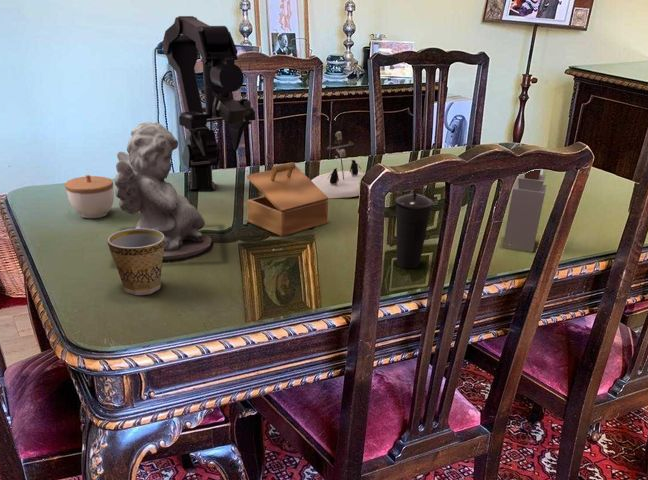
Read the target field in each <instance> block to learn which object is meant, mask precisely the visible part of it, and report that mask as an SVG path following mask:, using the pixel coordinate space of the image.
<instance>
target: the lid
mask: <svg viewBox="0 0 648 480" xmlns="http://www.w3.org/2000/svg"><path fill="white" fill-rule="evenodd" d="M246 178H247V180H248V181H249V182H250V183H252V185H253V186H254V187H255V188H256V189H257V190H258V191H259V192H260V193H261V194H262V196H265V197H266V198H267V199H268V200H269V201H270V202H271V203H272V204H273V205H274V206H275V207H276V208H277V209H278V210H279V211H280V212H281V213H283V212H287V211H290V210H294V209H298V208H302V207H305V206H309V205H313V204H316V203H320V202H324V201H328V202H329V199H330V198H328V197H327V196H326V195H325V194H324V193H323V192H322V191H321V190H320V189H319V188H318V187H317V186H316V185H315V184H314V183H313V182H312V181H311V180H312V179H310V178H309V177H308V176H307V175H306V174H305V173H304V172H303V171H302V170H301V169H300V168H299V167H298V166H296V163H295V162H293V161H291V162H287V163H282V164H277V165H272V166H271V169H268V170H263V171H259V172H254V173H250V174H247V175H246Z"/></svg>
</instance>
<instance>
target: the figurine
mask: <svg viewBox="0 0 648 480" xmlns="http://www.w3.org/2000/svg"><path fill="white" fill-rule="evenodd" d="M334 136H335V137H336V138H335V145H336V144H338V145H337V146H331V145H328V146H327V145H325V144H322V146H323V147H324V148H326V151H330V150H335V151H336V152H337V153H338V154H339V157H340V165H341V170H340V171H338V168H337V167H336V168H333V171H331V172H327V173H323V174H320V175H316V177H314V178H312V179H310V180H311V181H312V182H313V183H314V184H315V185H316V186H317V187H318V188H319V189H320V190H321V191H322V192H323V193H324V194H325V195H326V196H327V197H328V198H329V199H340V198H341V199H342V198H352V197H359V182H360V179H361V177H362V176H363V175H364V174H365V173H364V172H362V171H359V169H360V170H362V167H360V165H359V164H358V163H357V161H356V159H351V164H350V168H349V170H344V166H343V165H344V164H343V159H345V157H347V154H346V150H345V148H347V147H350V146H354V144H355V143H353V140H352V141H350V140H348V141H347V142H348V143H347V144H342V143H343V135H342V131H336V133H335V134H334ZM341 144H342V145H341Z"/></svg>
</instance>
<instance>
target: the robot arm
mask: <svg viewBox="0 0 648 480" xmlns="http://www.w3.org/2000/svg"><path fill="white" fill-rule="evenodd" d="M162 50H163V53H164V55H166V59H167V62H168V64H169V66H170V67H171V68H172V69H173V70H174V72H176V75H177V81H178V85H179V90H180V95H181V100H182V104H183V108H184V109H183V110H184V112H180V114H179V116H178V123H179V124H178V125H179V126H182V127H184V129H186V130H188V131H187V133H186V136H185V139H184V144H185V145H184V148H183V150H182V151H183V152H182V154H181V160H182V164H183V166H184V167H186V168H187V169H189V170H190V180H191V182H190V185H189V190H190V191H193V192H195V191H216V190H215V189H216V187H215V182H214V180H213V166H219V162H220V152H221V148H220V146H219V144H218V142H217V139H216V133H215V132H214V130H213V129H210V128H209V126H207V124H208V123H212V122H219V121H225V122H226V123H227V124H228V125H229V131H230V138H231V145H232V149H233V151H236V152H237V151H238V150H239V147H240V143H241V140H242V136H243V134H244V131H245V129H246V128H247V127H248V126H249V125H251V124H252V121H256V119H257V118H256V111H255V109H254V108H253V107H252V106H251V105H252V104H251V101H250V100H249V99H248V98H241V99H240V100H236V99H235V98H234V93H235V92H237V91H238V90H240V89H241V88H242V86H243V85H244V80H245V77H244V75H245V74H244V73H243V70H242V69H241V67H240V66H239V65H237V64H236V63H235V62H236V61H238V53H239V52H238V49H237V47H236V44H235V41H234V39H233V37H232V33H231V32H230V31H229V28H228V27H227V26H226V25H209V24H207V23H205V22H203V21H201V20H200V19H198V17H196V16H193V15H178V16H176V17H175V19H174V22H173V23H172V24H171V25H170V27H168V28H167V29H166V30H165V31H164V35H163V39H162ZM198 53H199V54H198ZM199 55H200V57H201V58H200V61H201V63H202V75H203V76H202V77H203V88H200V89H199V84H198V80H197V75H196V69H195V67H196V64H197V62H198V59H199ZM200 92H201V94H200ZM200 95H204V105H205V106H204V107H203V104H202V99H201V96H200Z"/></svg>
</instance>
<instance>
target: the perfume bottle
mask: <svg viewBox="0 0 648 480" xmlns="http://www.w3.org/2000/svg"><path fill="white" fill-rule="evenodd" d="M541 171H542V169H541V170H534V171H530V172H528V173H526V174H524V175H521V176H519V175H518V178H517V180H515V182H514V185H513V187H512V190H511V191H512V192H511V196H510V203H509V208H508V213H507V214H508V215H507V219H506V223H505V224H506V225H505V231H504V236H503V241H502V248H503V249H507V250H508V249H509V250H514V251H521V252H528V253H533V252H534V248H535V244H536V239H537V236H538V235H537V234H538V230H539V224H540V219H541V216H542V215H541V214H542V211H543V205H544V199H545V196H546V192H547V191H546V190H547V186H548V185H547V184H544V182H545V178H546V174H541ZM503 243H505V244H503ZM509 244H510V245H509Z"/></svg>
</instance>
